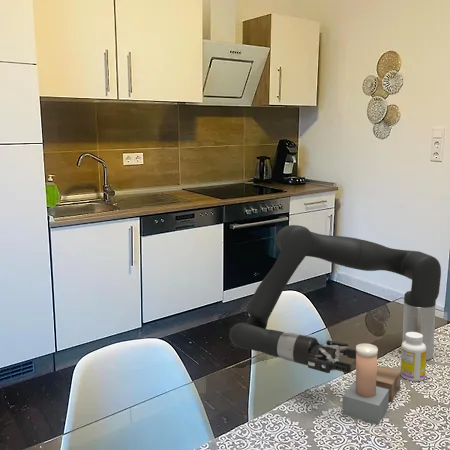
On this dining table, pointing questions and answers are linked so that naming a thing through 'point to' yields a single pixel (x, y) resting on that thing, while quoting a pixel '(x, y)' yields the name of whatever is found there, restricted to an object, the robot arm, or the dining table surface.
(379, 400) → the stand
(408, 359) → the supplement bottle
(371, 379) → the canister
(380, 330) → the dining table surface
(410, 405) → the dining table surface
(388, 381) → the stand
